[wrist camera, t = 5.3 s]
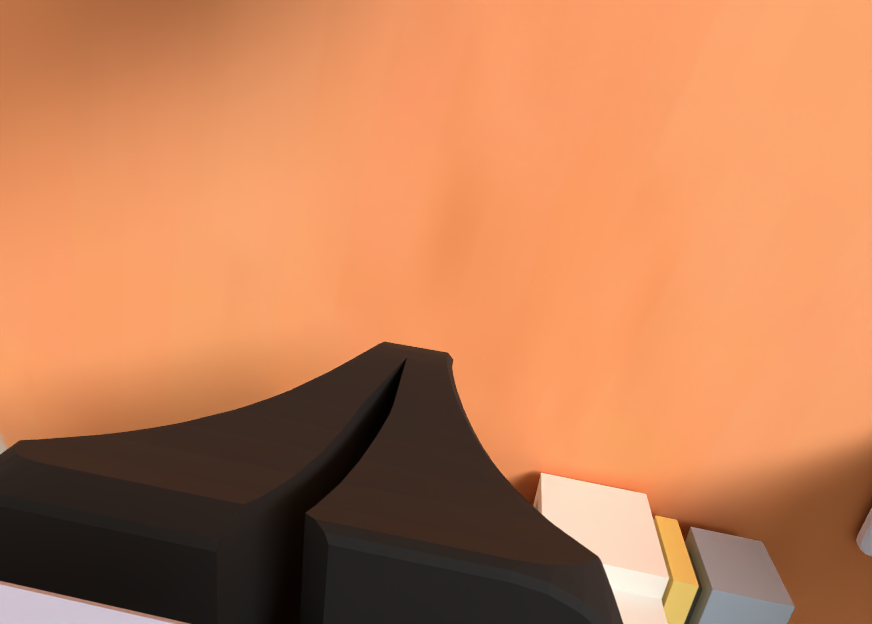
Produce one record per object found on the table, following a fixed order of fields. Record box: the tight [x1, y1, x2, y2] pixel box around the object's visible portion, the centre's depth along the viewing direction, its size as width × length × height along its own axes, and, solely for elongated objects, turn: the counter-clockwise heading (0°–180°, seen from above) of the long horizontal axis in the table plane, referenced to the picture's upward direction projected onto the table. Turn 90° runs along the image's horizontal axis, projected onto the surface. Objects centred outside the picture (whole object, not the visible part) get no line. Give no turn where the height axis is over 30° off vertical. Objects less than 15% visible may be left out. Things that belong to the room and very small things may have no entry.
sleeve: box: [533, 473, 669, 624], centre depth 21 cm, size 4×4×6 cm
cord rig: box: [654, 515, 795, 624], centre depth 23 cm, size 19×6×4 cm, turn 82°
